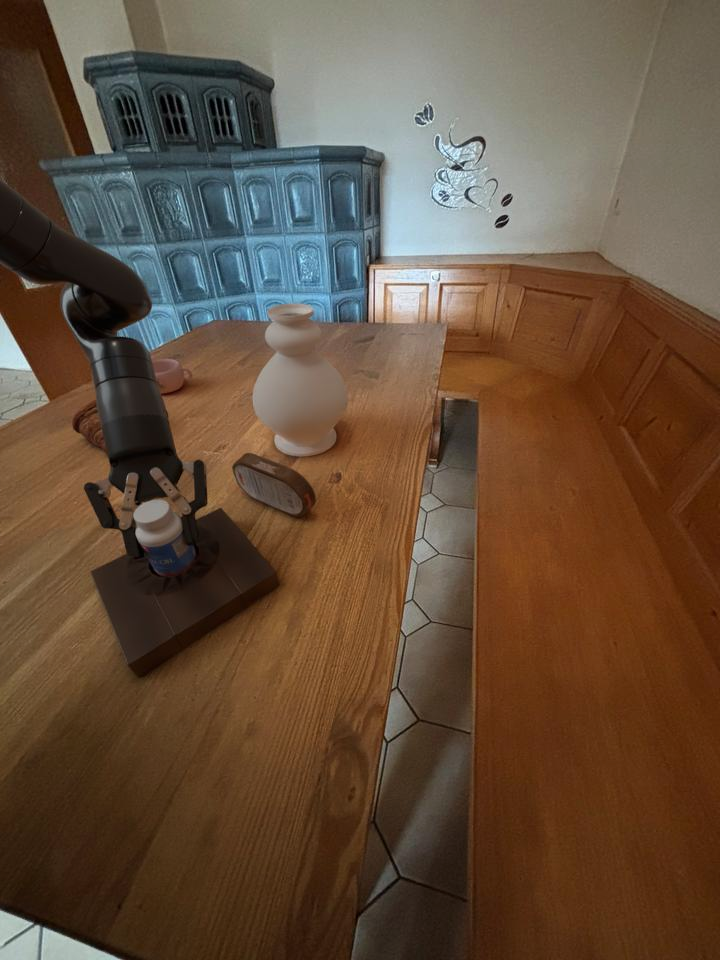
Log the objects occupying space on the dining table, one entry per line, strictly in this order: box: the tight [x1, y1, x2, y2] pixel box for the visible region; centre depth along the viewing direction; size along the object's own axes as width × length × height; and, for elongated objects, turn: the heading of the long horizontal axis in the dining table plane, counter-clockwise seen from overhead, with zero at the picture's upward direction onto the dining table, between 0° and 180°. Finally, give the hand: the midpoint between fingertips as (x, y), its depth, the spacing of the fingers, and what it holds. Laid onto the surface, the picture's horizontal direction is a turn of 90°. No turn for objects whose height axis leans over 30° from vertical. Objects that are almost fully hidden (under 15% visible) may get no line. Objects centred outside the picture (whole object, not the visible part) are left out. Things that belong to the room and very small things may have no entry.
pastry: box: [71, 399, 107, 454], centre depth 78 cm, size 17×15×8 cm
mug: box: [152, 358, 193, 394], centre depth 95 cm, size 12×10×6 cm
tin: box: [231, 452, 317, 518], centre depth 60 cm, size 15×3×8 cm, turn 59°
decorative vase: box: [251, 302, 349, 458], centre depth 70 cm, size 18×18×25 cm
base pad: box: [90, 507, 280, 678], centre depth 50 cm, size 18×17×3 cm
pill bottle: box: [133, 499, 197, 577], centre depth 49 cm, size 6×5×10 cm
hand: (166, 551), depth 48 cm, fingers closed on pill bottle, 5 cm apart
